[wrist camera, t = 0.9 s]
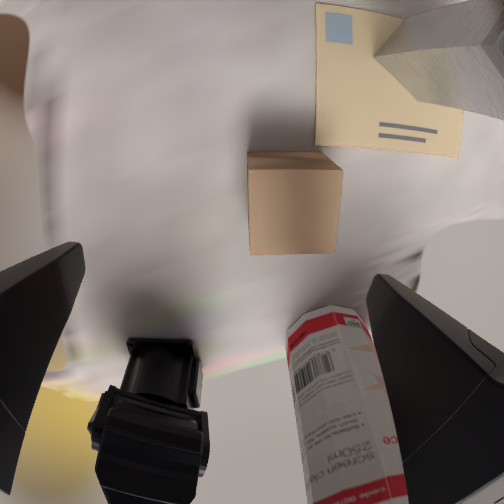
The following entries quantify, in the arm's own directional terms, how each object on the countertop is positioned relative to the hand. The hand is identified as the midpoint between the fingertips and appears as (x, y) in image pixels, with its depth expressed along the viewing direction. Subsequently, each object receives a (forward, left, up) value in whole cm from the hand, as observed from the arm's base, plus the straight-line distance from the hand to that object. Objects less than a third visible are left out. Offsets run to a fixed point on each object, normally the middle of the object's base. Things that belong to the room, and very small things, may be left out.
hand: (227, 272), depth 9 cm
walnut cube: (+3, -2, -13) cm, 14 cm away
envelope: (+11, +6, -13) cm, 19 cm away
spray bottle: (+8, -16, -13) cm, 22 cm away
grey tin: (+12, +8, -13) cm, 20 cm away
